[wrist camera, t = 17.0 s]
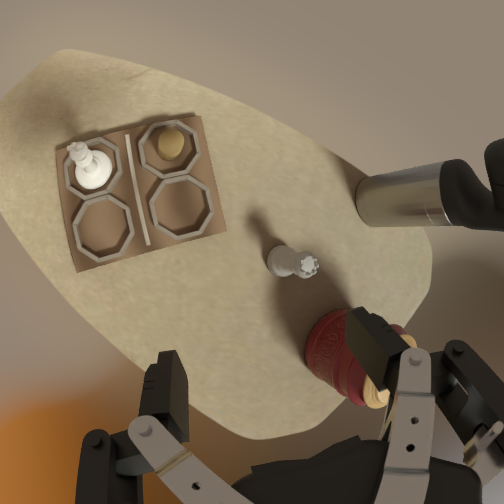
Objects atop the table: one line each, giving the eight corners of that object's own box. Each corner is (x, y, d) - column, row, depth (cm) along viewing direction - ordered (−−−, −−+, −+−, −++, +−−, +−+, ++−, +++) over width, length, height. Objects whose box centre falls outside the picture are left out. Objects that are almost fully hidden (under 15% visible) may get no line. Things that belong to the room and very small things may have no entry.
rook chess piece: (260, 256, 38) (287, 260, 31) (284, 239, 39) (315, 239, 32) (275, 282, 39) (304, 292, 32) (298, 264, 40) (330, 270, 33)
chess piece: (111, 187, 29) (96, 167, 20) (75, 191, 27) (47, 173, 18) (113, 149, 29) (100, 117, 19) (77, 153, 27) (53, 123, 18)
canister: (289, 344, 40) (365, 395, 24) (345, 291, 44) (430, 313, 27) (321, 389, 44) (388, 437, 27) (369, 341, 47) (441, 370, 31)
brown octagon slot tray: (198, 119, 34) (206, 104, 29) (224, 231, 36) (235, 230, 31) (59, 153, 27) (47, 142, 22) (79, 271, 29) (68, 276, 25)
